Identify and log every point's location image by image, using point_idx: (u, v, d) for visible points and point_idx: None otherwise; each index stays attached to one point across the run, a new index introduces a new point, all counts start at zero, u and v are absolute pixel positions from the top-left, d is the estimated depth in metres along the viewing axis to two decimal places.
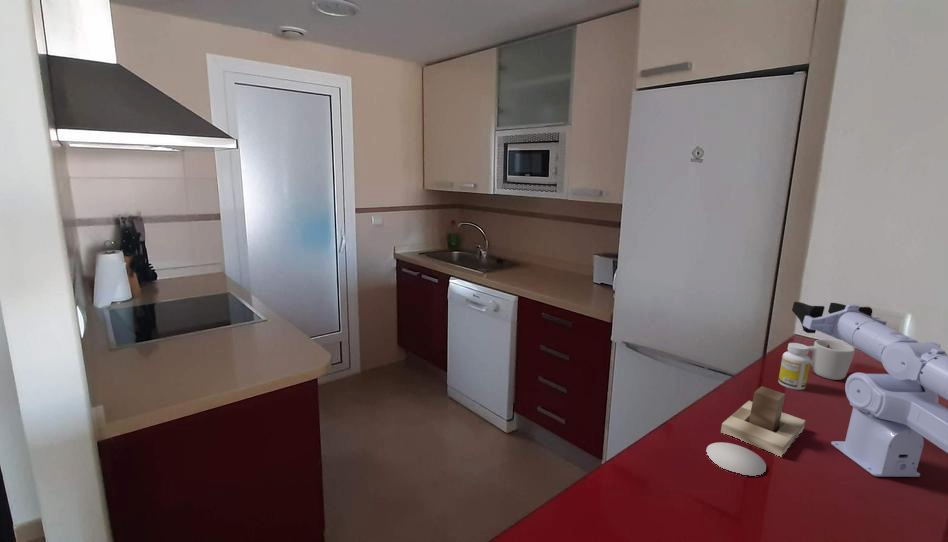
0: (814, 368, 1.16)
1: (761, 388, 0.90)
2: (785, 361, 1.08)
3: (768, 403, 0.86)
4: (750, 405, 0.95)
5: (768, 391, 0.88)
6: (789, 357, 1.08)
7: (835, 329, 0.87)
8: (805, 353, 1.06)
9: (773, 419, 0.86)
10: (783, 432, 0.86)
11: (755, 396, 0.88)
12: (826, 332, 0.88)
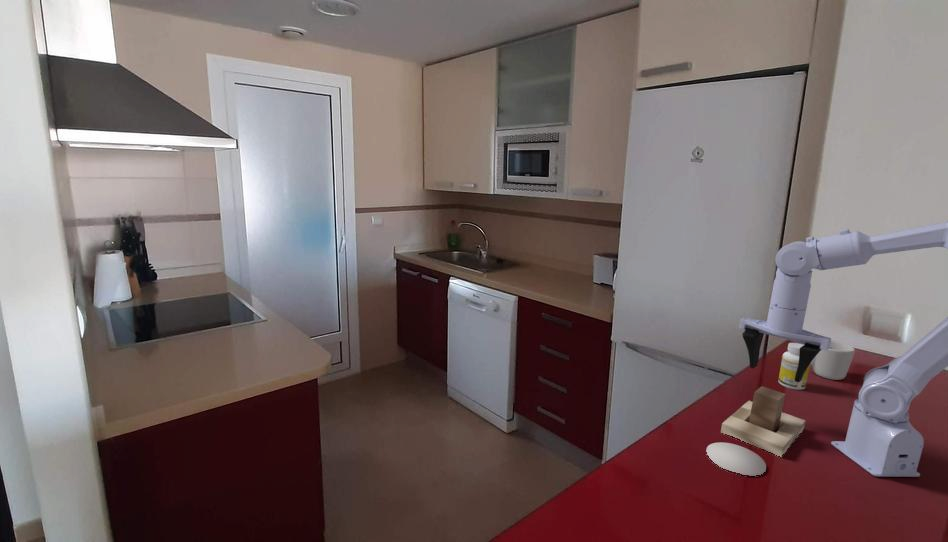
0: (814, 368, 1.16)
1: (761, 388, 0.90)
2: (785, 361, 1.08)
3: (768, 403, 0.86)
4: (750, 405, 0.95)
5: (768, 391, 0.88)
6: (789, 357, 1.08)
7: (766, 321, 0.90)
8: None
9: (773, 419, 0.86)
10: (783, 432, 0.86)
11: (755, 396, 0.88)
12: None
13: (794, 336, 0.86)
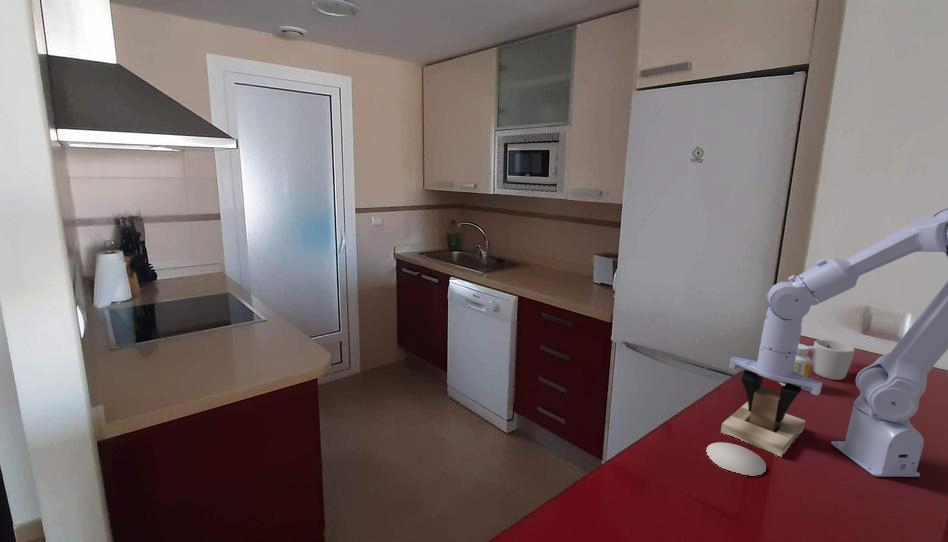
0: (814, 368, 1.16)
1: (761, 388, 0.90)
2: None
3: (768, 402, 0.86)
4: None
5: (768, 391, 0.88)
6: None
7: (756, 362, 0.88)
8: (805, 353, 1.06)
9: (773, 419, 0.86)
10: (783, 432, 0.86)
11: (755, 396, 0.88)
12: None
13: (784, 380, 0.84)
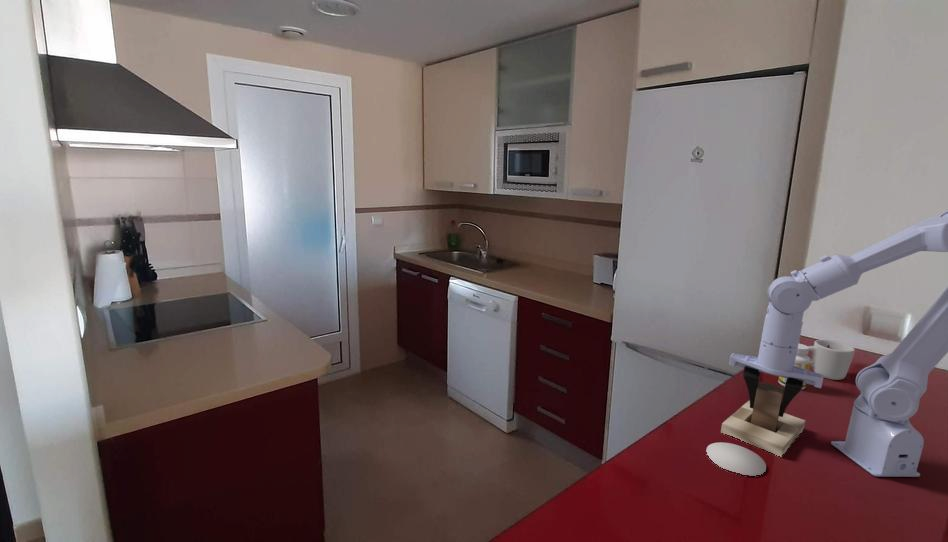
0: (814, 368, 1.16)
1: (761, 383, 0.89)
2: None
3: (772, 398, 0.86)
4: None
5: (768, 386, 0.88)
6: None
7: (757, 358, 0.88)
8: (805, 353, 1.06)
9: (777, 414, 0.86)
10: (783, 432, 0.86)
11: (758, 392, 0.87)
12: None
13: (788, 375, 0.83)
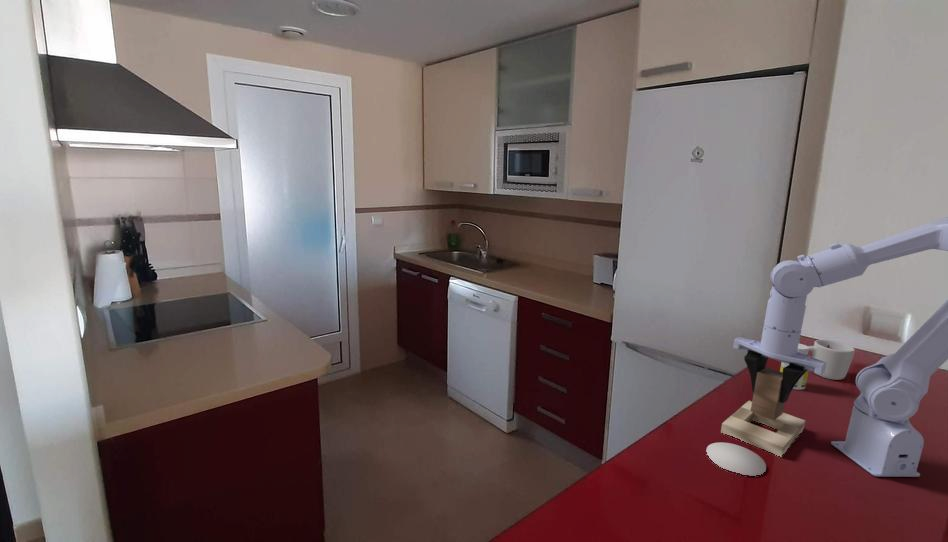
0: None
1: (765, 369, 0.89)
2: None
3: (771, 382, 0.86)
4: (750, 405, 0.95)
5: (772, 372, 0.87)
6: None
7: None
8: (805, 353, 1.06)
9: (776, 399, 0.85)
10: (783, 432, 0.86)
11: (758, 376, 0.87)
12: None
13: (787, 359, 0.83)
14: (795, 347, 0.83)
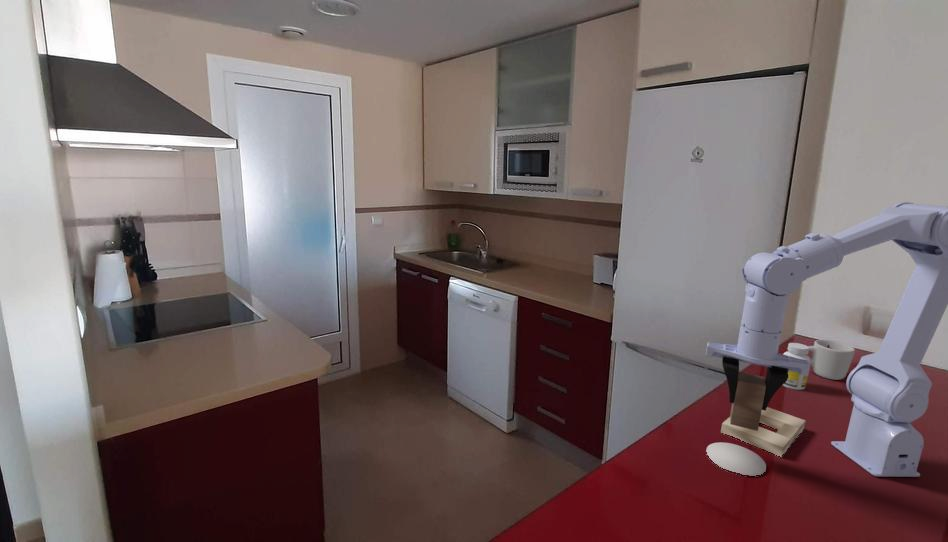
0: (814, 368, 1.16)
1: (739, 374, 0.80)
2: None
3: (754, 390, 0.77)
4: None
5: (748, 377, 0.79)
6: None
7: (737, 347, 0.78)
8: (805, 353, 1.06)
9: (760, 408, 0.77)
10: (783, 432, 0.86)
11: (739, 385, 0.78)
12: None
13: (774, 363, 0.74)
14: None
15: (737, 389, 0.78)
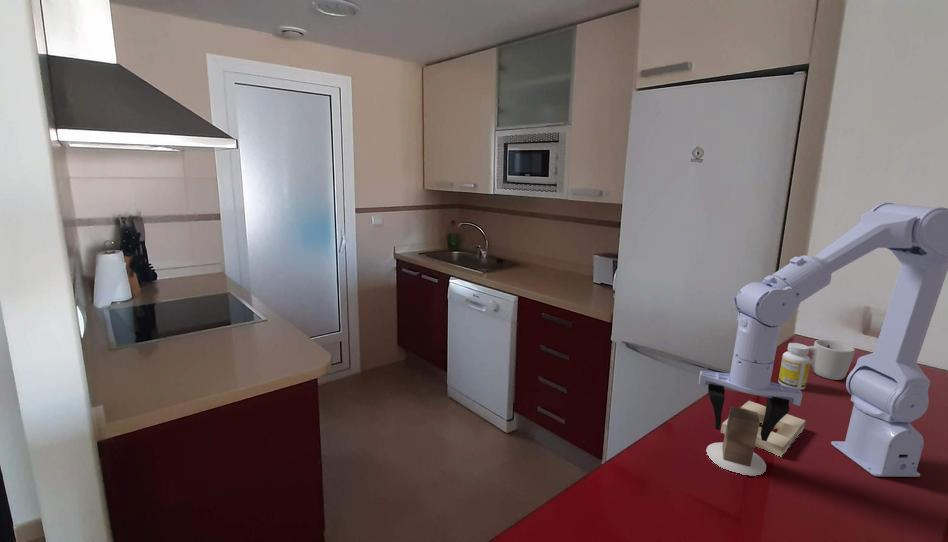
0: (814, 368, 1.16)
1: (733, 409, 0.80)
2: (785, 361, 1.08)
3: (748, 427, 0.77)
4: (750, 405, 0.95)
5: (742, 413, 0.79)
6: (789, 357, 1.08)
7: (730, 376, 0.78)
8: (805, 353, 1.06)
9: (753, 444, 0.77)
10: (783, 432, 0.86)
11: (733, 421, 0.78)
12: None
13: (767, 393, 0.74)
14: (770, 378, 0.75)
15: (731, 425, 0.78)
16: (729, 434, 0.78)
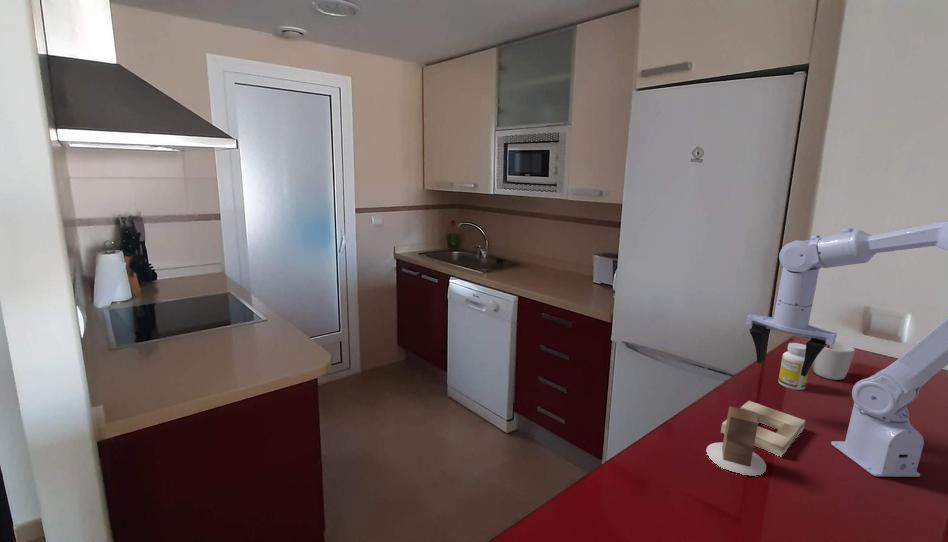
0: (814, 368, 1.16)
1: (731, 409, 0.80)
2: (785, 361, 1.08)
3: (747, 427, 0.77)
4: (750, 405, 0.95)
5: (740, 413, 0.79)
6: (789, 357, 1.08)
7: None
8: None
9: (752, 444, 0.77)
10: (783, 432, 0.86)
11: (731, 421, 0.78)
12: None
13: (800, 331, 0.88)
14: (807, 320, 0.89)
15: (729, 425, 0.78)
16: (728, 434, 0.79)
